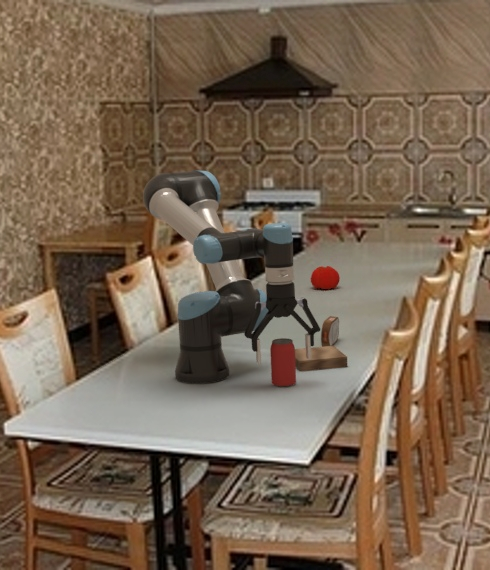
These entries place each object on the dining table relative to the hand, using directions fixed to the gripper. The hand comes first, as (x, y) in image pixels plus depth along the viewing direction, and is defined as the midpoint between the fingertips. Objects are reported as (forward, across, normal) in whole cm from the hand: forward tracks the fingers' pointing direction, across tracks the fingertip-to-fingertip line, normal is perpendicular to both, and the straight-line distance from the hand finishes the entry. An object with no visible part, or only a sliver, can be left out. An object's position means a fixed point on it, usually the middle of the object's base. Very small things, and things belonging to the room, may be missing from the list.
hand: (283, 360), depth 255 cm
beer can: (+7, 0, 0) cm, 7 cm away
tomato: (+5, +48, +134) cm, 142 cm away
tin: (+6, +24, +40) cm, 47 cm away
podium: (+6, +14, +18) cm, 24 cm away
